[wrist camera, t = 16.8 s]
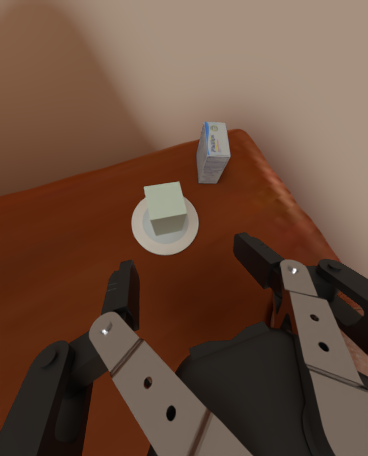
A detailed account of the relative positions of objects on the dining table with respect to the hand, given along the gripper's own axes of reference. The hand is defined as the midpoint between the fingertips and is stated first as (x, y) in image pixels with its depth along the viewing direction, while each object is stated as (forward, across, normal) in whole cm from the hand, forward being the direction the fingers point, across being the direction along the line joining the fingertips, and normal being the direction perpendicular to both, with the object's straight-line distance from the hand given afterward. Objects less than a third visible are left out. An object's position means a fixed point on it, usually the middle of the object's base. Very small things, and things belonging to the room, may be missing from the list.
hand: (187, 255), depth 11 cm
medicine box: (+26, -12, -1) cm, 29 cm away
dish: (+18, 0, +6) cm, 19 cm away
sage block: (+17, 0, +5) cm, 18 cm away
